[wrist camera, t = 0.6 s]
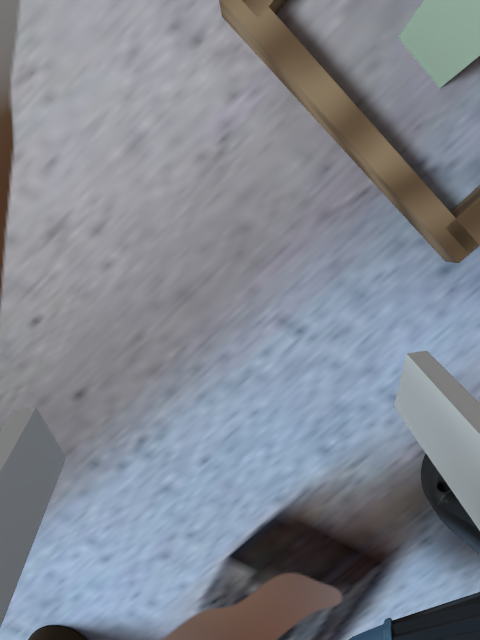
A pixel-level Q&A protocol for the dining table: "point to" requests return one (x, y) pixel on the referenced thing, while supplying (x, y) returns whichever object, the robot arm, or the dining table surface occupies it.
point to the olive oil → (56, 634)
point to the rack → (354, 130)
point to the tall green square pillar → (444, 37)
